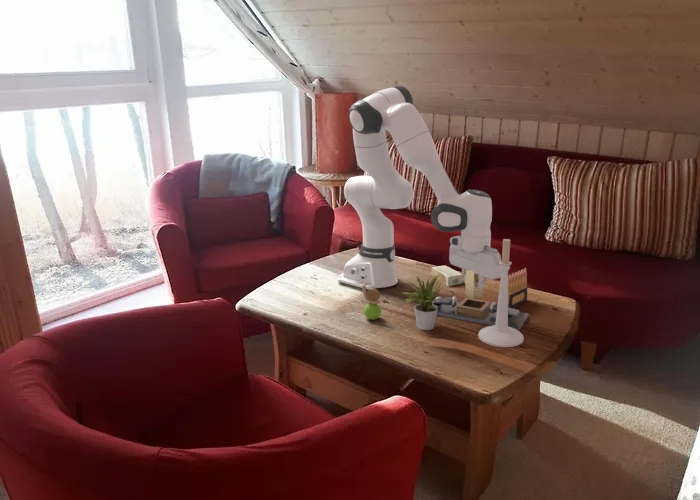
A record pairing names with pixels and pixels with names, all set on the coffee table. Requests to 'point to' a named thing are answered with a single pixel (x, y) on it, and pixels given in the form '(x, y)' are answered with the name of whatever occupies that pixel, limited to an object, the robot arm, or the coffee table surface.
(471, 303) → the coupler station
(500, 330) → the candlestick
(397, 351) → the coffee table surface
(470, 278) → the pale yellow block
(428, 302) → the house plant
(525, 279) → the ammunition clip
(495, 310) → the shaft right
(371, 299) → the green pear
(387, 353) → the coffee table surface
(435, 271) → the skincare box
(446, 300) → the shaft left
